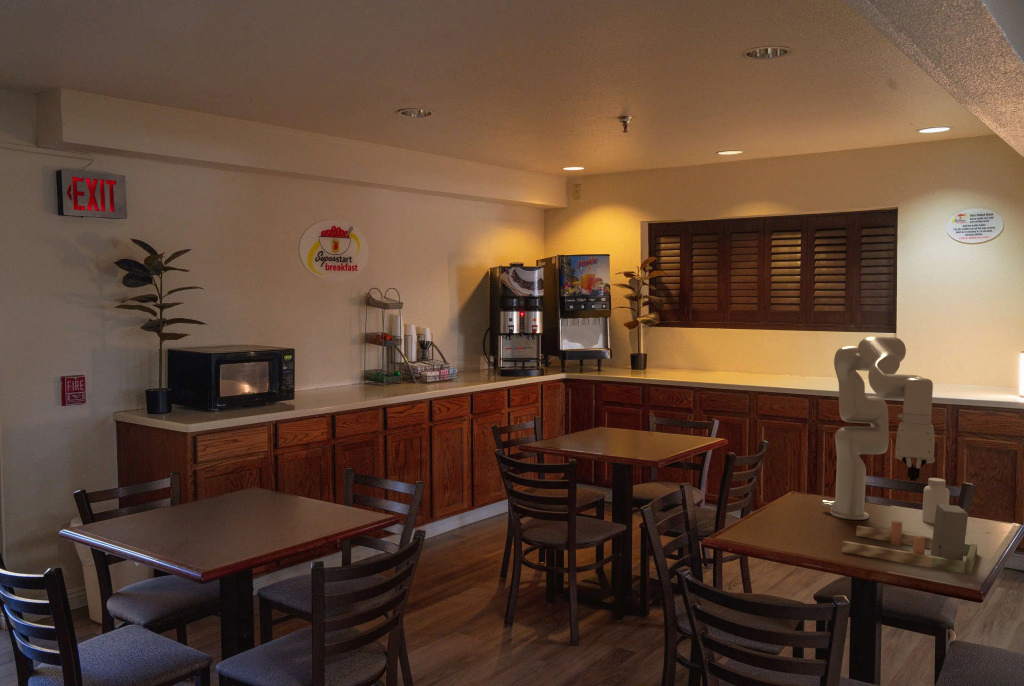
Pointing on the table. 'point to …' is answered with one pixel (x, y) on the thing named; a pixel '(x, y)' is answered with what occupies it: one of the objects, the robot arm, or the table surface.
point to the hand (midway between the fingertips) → (913, 480)
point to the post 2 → (919, 545)
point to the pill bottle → (934, 498)
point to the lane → (909, 556)
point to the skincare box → (949, 532)
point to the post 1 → (896, 533)
